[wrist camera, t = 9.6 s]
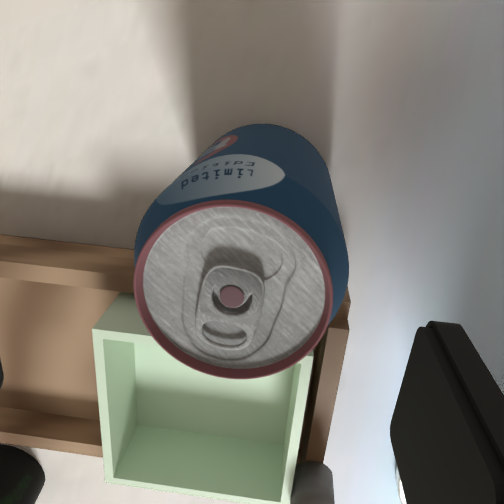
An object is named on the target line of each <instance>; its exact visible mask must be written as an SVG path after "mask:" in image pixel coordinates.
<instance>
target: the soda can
mask: <svg viewBox="0 0 504 504" xmlns="http://www.w3.org/2000/svg"><path fill="white" fill-rule="evenodd" d="M134 265H135V272H134V296H135V301H136V305H137V309H138V312H139V314H140V317H141V319H142V321H143V323H144V325H145V327H146V329H147V330H148V332H149V333H150V335H151V336H152V337H153V338H154V340H155V341H156V342H157V343H158V344H159V345H160V346H161V347H162V348H163V349H164V350H165V351H166V352H167V353H168V354H169V355H171V356H172V357H173V358H175V359H176V360H178V361H179V362H181V363H183V364H184V365H186V366H188V367H190V368H192V369H194V370H197V371H199V372H202V373H205V374H208V375H211V376H215V377H220V378H226V379H255V378H261V377H266V376H270V375H273V374H276V373H279V372H281V371H283V370H285V369H287V368H290V367H291V366H293V365H295V364H296V363H298V362H299V361H300V360H302V359H303V358H304V357H305V356H307V355H308V354H309V353H310V352H311V351H312V350H313V348H314V347H315V346H316V345H317V344H318V342H319V341H320V339H321V338H322V336H323V334H324V332H325V330H326V328H327V326H328V325H329V324H330V322H331V321H332V319H333V318H334V317H335V315H336V313H337V312H338V310H339V308H340V306H341V304H342V301H343V299H344V296H345V292H346V289H347V284H348V276H349V261H348V253H347V248H346V244H345V239H344V235H343V231H342V226H341V222H340V218H339V213H338V209H337V205H336V200H335V196H334V192H333V188H332V183H331V179H330V175H329V172H328V169H327V166H326V164H325V162H324V160H323V158H322V157H321V155H320V154H319V152H318V151H317V150H316V148H315V147H314V146H313V145H312V144H311V143H310V142H309V141H307V140H306V139H305V138H304V137H302V136H301V135H299V134H297V133H296V132H294V131H292V130H290V129H287V128H284V127H281V126H277V125H271V124H252V125H247V126H243V127H240V128H237V129H234V130H232V131H230V132H228V133H226V134H225V135H223V136H222V137H221V138H219V139H218V140H217V141H216V142H215V143H213V144H212V145H211V146H210V147H209V148H208V149H207V150H206V151H205V152H204V153H203V154H202V155H201V156H200V157H199V158H198V159H197V160H196V161H195V162H194V163H193V164H192V165H190V166H189V167H188V168H187V169H186V170H185V171H184V172H183V173H182V174H181V175H180V176H179V177H178V178H177V179H176V180H175V181H174V182H173V183H172V184H171V185H170V186H168V187H167V188H166V189H165V190H164V191H163V192H162V193H161V194H160V195H159V196H158V197H157V198H156V200H155V201H154V202H153V203H152V204H151V206H150V207H149V209H148V210H147V212H146V214H145V215H144V217H143V219H142V221H141V224H140V226H139V229H138V232H137V236H136V241H135V248H134Z"/></svg>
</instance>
